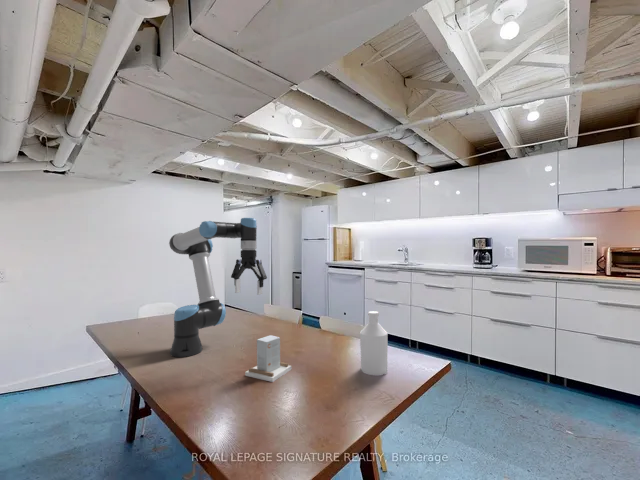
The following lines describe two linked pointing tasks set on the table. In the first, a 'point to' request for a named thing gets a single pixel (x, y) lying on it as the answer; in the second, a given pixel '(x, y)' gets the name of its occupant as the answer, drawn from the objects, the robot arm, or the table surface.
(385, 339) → the bottle
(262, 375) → the base plate
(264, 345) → the small box
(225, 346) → the table surface
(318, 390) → the table surface
